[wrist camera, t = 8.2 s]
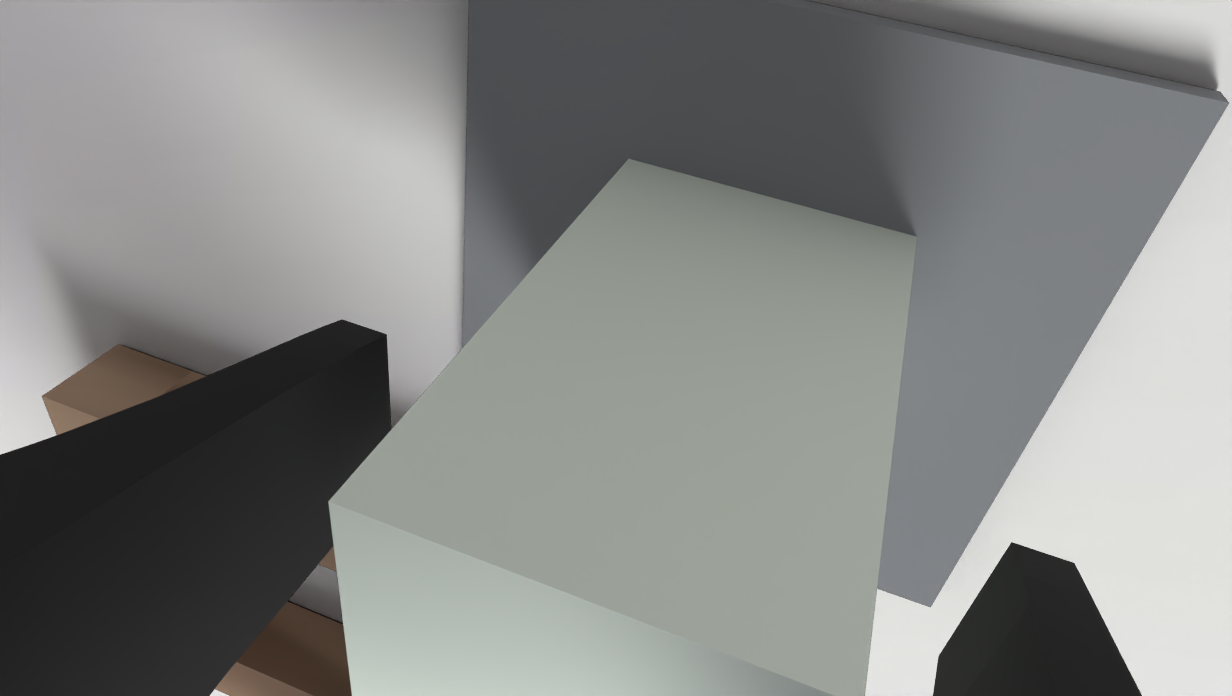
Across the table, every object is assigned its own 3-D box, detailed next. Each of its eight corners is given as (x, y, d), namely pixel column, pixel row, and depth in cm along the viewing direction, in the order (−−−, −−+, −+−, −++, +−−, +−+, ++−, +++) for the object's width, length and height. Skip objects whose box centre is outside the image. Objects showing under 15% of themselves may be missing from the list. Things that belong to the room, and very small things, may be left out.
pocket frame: (489, 725, 23) (453, 795, 21) (194, 600, 25) (143, 656, 23) (504, 483, 17) (457, 555, 15) (118, 344, 19) (41, 395, 17)
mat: (931, 589, 15) (930, 607, 14) (470, 428, 16) (460, 441, 16) (1220, 92, 9) (1229, 102, 9) (484, -72, 11) (469, -66, 11)
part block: (829, 454, 13) (732, 930, 8) (596, 378, 14) (359, 763, 9) (917, 236, 11) (862, 707, 5) (628, 158, 12) (328, 501, 6)
